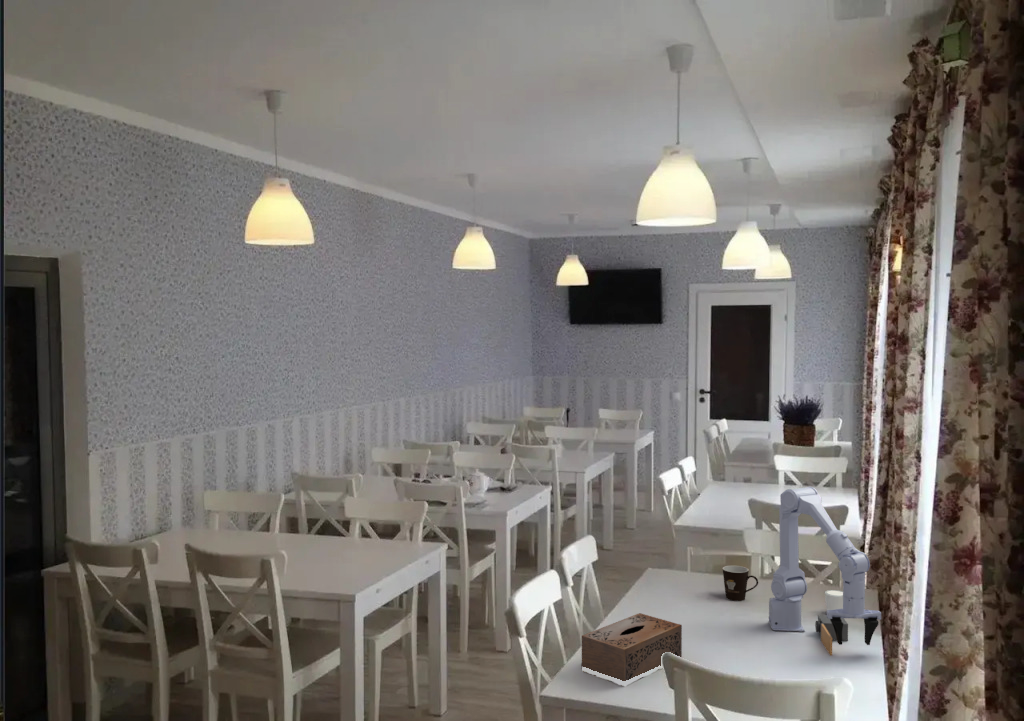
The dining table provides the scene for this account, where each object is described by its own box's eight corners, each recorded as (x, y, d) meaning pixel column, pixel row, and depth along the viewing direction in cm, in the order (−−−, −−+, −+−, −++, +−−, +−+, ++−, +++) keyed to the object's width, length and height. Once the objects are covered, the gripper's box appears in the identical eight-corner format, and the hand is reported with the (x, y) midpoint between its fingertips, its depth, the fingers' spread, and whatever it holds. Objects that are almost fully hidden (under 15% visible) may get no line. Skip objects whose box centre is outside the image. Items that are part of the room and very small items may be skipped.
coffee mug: (717, 596, 298) (717, 567, 297) (737, 592, 301) (737, 564, 301) (739, 606, 287) (739, 576, 287) (760, 602, 291) (760, 572, 291)
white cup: (843, 611, 282) (843, 589, 281) (849, 618, 275) (850, 596, 275) (821, 610, 282) (822, 589, 282) (827, 617, 276) (827, 595, 275)
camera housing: (818, 639, 256) (819, 621, 256) (813, 631, 263) (814, 613, 263) (847, 641, 255) (848, 622, 255) (842, 632, 262) (842, 614, 262)
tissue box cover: (639, 647, 252) (639, 613, 252) (681, 660, 242) (681, 624, 241) (581, 672, 234) (581, 635, 234) (624, 687, 224) (624, 649, 223)
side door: (820, 639, 256) (820, 623, 256) (823, 640, 256) (823, 623, 256) (829, 655, 244) (829, 638, 244) (832, 655, 244) (832, 638, 244)
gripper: (832, 600, 241) (831, 648, 241) (885, 600, 240) (885, 649, 241) (824, 592, 248) (823, 639, 248) (876, 592, 247) (875, 640, 248)
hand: (853, 643), depth 245 cm, fingers open, 7 cm apart
